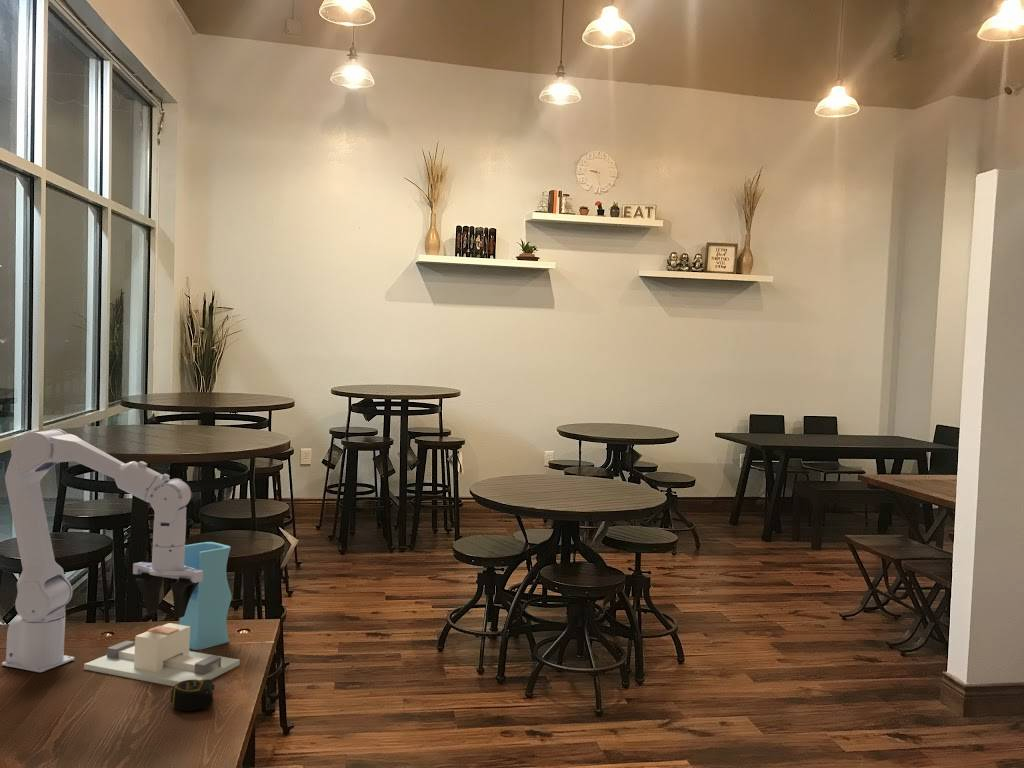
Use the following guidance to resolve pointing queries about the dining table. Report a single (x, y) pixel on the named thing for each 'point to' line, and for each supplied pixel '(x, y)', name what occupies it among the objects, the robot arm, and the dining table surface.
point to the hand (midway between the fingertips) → (165, 615)
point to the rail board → (173, 668)
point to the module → (160, 646)
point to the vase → (208, 595)
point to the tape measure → (192, 694)
